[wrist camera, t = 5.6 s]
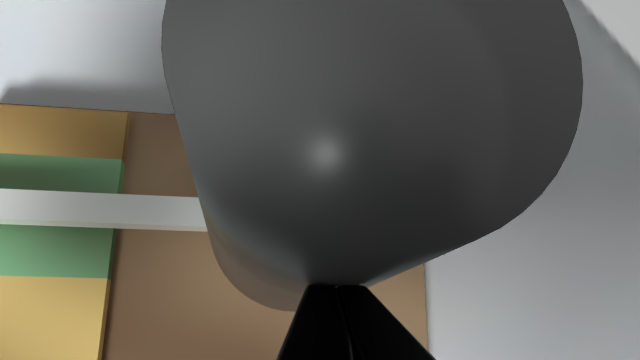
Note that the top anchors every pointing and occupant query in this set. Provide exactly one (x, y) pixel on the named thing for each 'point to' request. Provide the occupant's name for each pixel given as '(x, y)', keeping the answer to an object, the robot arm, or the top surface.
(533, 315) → the top surface
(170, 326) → the tuner board
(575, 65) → the peg
